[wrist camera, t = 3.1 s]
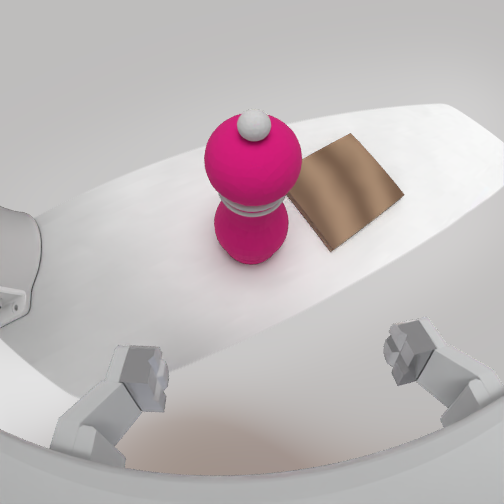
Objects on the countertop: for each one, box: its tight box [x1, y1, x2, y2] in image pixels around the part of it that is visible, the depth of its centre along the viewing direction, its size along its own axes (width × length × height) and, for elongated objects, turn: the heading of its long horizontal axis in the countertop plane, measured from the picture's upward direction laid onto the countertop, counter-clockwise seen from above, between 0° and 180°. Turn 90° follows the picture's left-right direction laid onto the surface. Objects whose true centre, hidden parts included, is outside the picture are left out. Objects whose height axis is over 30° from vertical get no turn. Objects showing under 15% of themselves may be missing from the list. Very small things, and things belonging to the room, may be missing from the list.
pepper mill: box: [204, 109, 302, 264], centre depth 23 cm, size 7×7×20 cm
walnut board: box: [286, 133, 404, 252], centre depth 34 cm, size 13×11×1 cm
